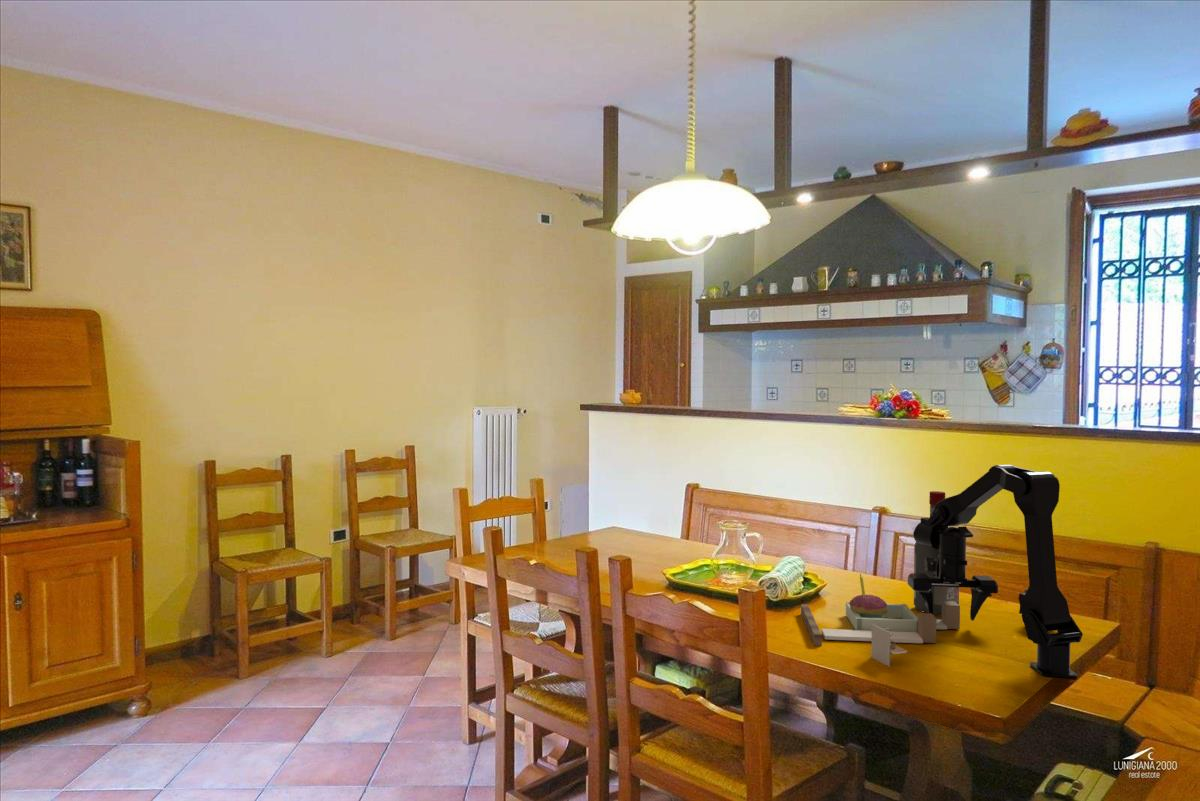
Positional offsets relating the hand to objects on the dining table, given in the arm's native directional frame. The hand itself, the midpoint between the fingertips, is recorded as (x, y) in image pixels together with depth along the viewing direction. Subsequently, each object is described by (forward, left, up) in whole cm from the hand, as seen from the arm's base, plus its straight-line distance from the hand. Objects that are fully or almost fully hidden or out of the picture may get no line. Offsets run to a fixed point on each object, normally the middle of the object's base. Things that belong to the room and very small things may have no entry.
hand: (951, 619), depth 183 cm
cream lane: (-11, +19, -2) cm, 22 cm away
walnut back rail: (-5, +33, -2) cm, 33 cm away
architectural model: (-24, +21, -3) cm, 32 cm away
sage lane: (0, +11, -2) cm, 11 cm away
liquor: (+14, -1, -2) cm, 14 cm away
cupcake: (0, +19, -2) cm, 19 cm away
